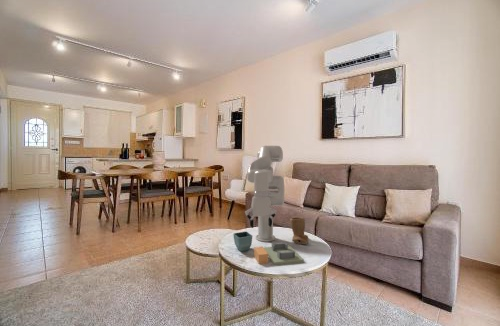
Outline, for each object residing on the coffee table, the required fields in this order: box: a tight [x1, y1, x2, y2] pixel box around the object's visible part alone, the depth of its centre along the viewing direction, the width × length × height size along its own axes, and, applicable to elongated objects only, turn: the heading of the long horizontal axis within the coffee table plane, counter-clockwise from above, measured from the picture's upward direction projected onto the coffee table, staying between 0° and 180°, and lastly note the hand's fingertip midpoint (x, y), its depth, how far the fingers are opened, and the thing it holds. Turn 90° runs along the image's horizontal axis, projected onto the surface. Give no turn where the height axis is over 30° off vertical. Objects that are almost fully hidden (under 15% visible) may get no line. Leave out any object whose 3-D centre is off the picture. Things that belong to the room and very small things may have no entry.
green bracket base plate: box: [263, 242, 305, 266], centre depth 138 cm, size 20×16×4 cm
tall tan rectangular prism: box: [253, 246, 269, 265], centre depth 134 cm, size 10×5×5 cm, turn 13°
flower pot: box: [233, 231, 253, 252], centre depth 147 cm, size 9×9×9 cm
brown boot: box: [289, 216, 309, 245], centre depth 161 cm, size 15×12×15 cm
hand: (261, 226), depth 133 cm, fingers open, 9 cm apart
